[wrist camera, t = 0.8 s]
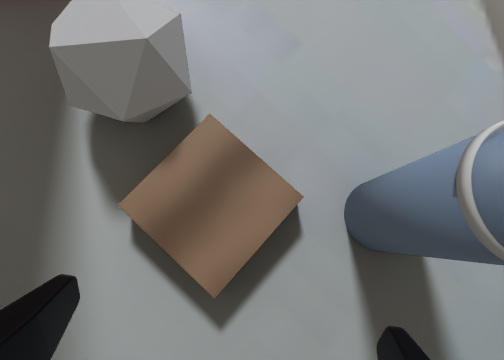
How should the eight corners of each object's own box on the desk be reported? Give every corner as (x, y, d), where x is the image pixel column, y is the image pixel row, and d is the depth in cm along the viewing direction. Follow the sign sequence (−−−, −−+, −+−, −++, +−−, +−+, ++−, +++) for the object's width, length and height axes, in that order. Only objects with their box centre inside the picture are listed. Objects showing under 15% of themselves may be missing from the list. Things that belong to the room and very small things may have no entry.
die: (126, 26, 26) (-12, -14, 18) (210, -4, 22) (83, -76, 13) (143, 124, 28) (24, 132, 19) (225, 113, 24) (119, 117, 15)
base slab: (296, 201, 23) (303, 196, 21) (217, 291, 22) (214, 298, 19) (212, 126, 24) (209, 113, 22) (131, 208, 23) (117, 205, 20)
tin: (429, 212, 23) (654, 185, 11) (385, 268, 23) (575, 311, 10) (372, 165, 24) (523, 84, 11) (328, 217, 23) (437, 195, 10)
